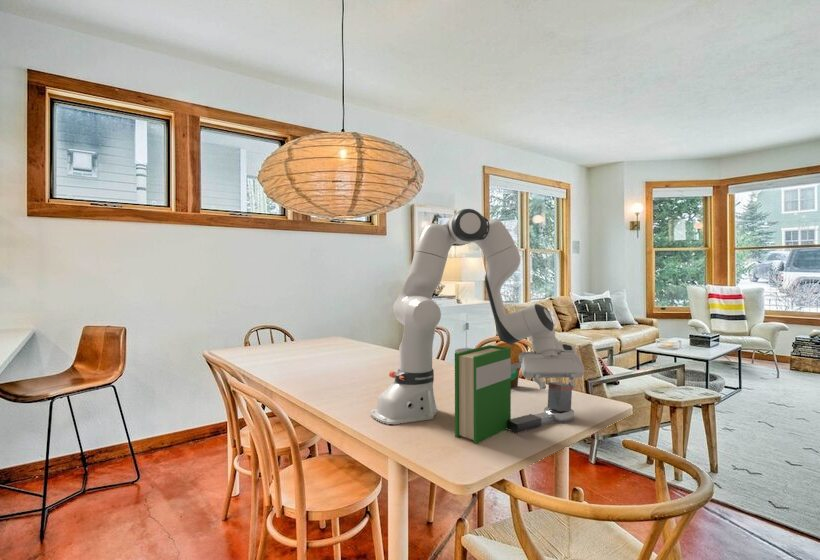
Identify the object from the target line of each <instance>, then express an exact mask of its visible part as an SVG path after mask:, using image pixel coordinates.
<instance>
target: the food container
mask: <svg viewBox="0 0 820 560" xmlns="http://www.w3.org/2000/svg"><path fill="white" fill-rule="evenodd" d="M520 369H521V363H520V361H518V362H515V363H513V362H511V389H515V388H517V387H518V385H519V384H518V383H519V377H520Z"/></svg>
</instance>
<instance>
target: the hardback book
mask: <svg viewBox="0 0 820 560" xmlns="http://www.w3.org/2000/svg"><path fill="white" fill-rule="evenodd" d="M511 350H512V348H511V347H506V346H498V345H492V344H488V345H485V346H480V347H476V348H471V350H467V351H463V352H458V353H455V352H454V437H455V438H457V439H458V438H460V437H461V438H462V437H464V438H466V439H469V440H473V444H474V445H478V444H480V443H482V442H484V441H487V440H488V439H491V438H492V437H494V436H496V435H498V434H500V433H502V432H504V431H506V430H508V429H507V420H510V419H512V418H511V417H512V412H511V411H512V408H511V405H512V404H511V403H512V400H511V399H512V398H511V397H512V396H511V394H512V392H511V391H512V390H511V389H512V388H511V363H512V362H511V361H512V360H511V359H512V358H511V356H512V355H511V354H512V353H511V352H512V351H511Z"/></svg>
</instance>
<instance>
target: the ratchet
mask: <svg viewBox="0 0 820 560" xmlns="http://www.w3.org/2000/svg"><path fill="white" fill-rule="evenodd" d="M543 409H544V411H543V412H540V413H536V414H531V413H529V414H525V415H521V416H518V417H513V418H511V419H510V420H507V429H506V430H509V431H511V432H514V433H515V434H520V433H523V432H527V431H529V430H530V431H531V430H535V429H537V428H541V427H543V426H546V425H551V424H553V423H559V424H568V423H569V422H570V423H572V422H574V421H575V410H574V409H572V408H571V411H557V410H554V409H550V408H548V406H545V407H544V408H543ZM570 423H569V424H570Z"/></svg>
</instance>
